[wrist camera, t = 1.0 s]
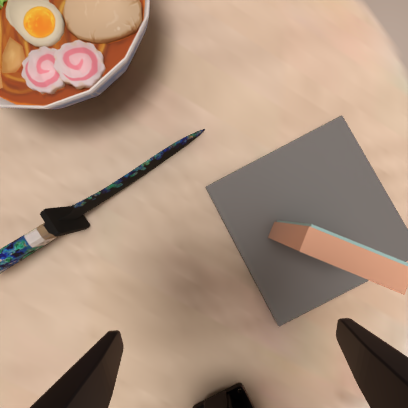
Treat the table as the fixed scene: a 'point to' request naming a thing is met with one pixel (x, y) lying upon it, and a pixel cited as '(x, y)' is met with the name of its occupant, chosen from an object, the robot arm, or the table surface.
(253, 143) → the table surface
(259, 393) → the table surface
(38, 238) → the knife
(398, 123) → the table surface
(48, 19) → the ramen bowl
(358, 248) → the tile
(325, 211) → the mat
